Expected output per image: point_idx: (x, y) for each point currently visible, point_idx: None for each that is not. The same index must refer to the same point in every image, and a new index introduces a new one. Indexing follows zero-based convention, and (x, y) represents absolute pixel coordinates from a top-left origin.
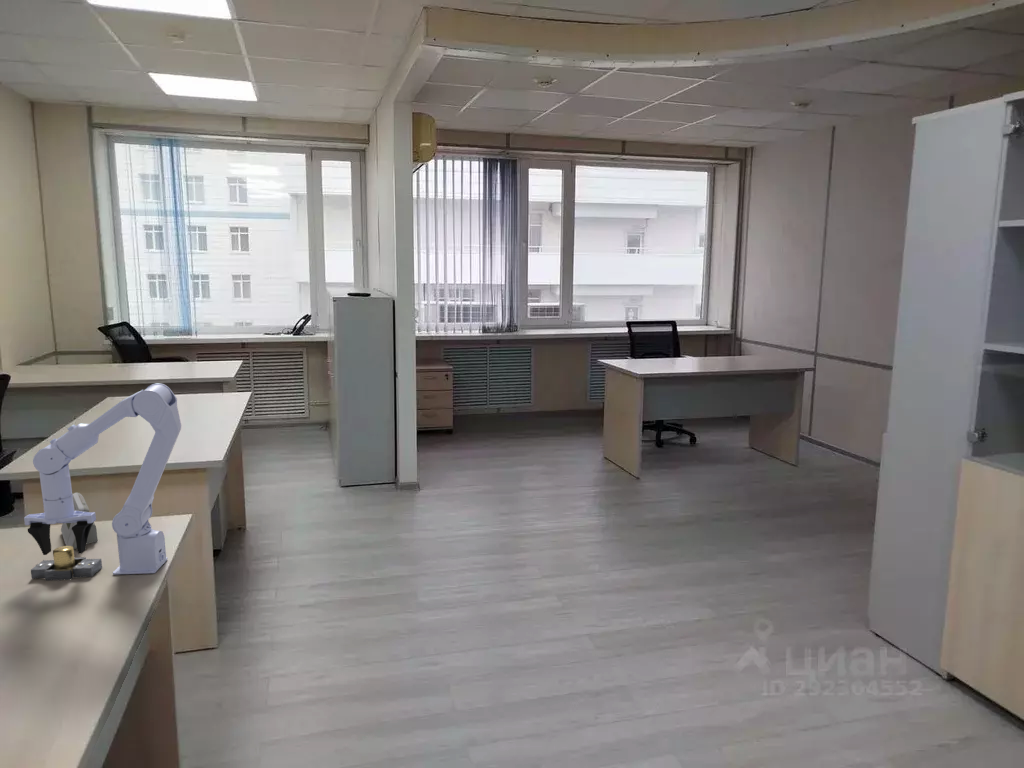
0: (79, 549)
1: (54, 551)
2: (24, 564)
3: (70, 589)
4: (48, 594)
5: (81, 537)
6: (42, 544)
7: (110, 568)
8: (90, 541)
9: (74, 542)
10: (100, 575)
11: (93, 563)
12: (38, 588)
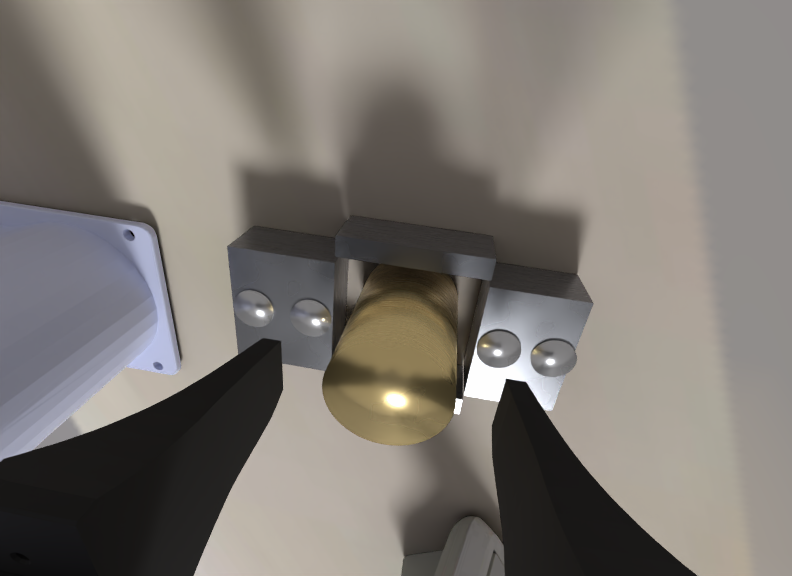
0: (246, 352)
1: (438, 378)
2: (655, 447)
3: (291, 69)
4: (399, 8)
5: (138, 413)
6: (531, 439)
7: (216, 307)
8: (425, 558)
9: (458, 547)
10: (219, 237)
11: (242, 302)
12: (499, 128)
